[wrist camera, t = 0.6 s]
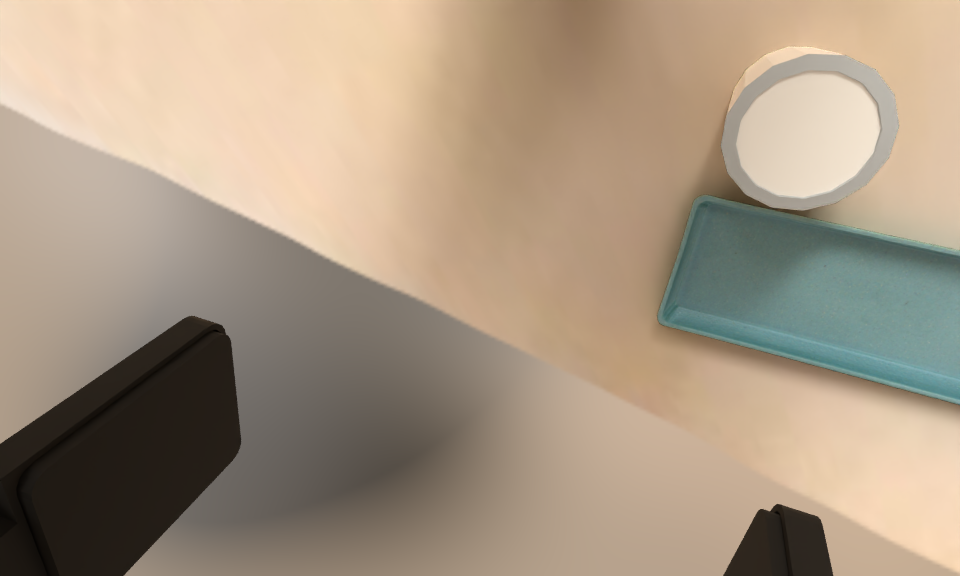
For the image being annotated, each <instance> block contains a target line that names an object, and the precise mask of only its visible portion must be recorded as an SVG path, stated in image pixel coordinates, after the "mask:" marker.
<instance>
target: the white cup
mask: <svg viewBox="0 0 960 576" xmlns="http://www.w3.org/2000/svg"><path fill="white" fill-rule="evenodd" d="M898 128H899V121H898V114H897V107H896V100H895V95H894V93H893V92H892V91H891V89H890V88H889V87H888V85H887V84H886V83H885V81H884V80H883V79H882V77H881V76H880V75H879V73H878V72H877V71H876V69H873V68H871V67H869V66H867V65H865V64H863V63H861V62H859V61H857V60H855V59H852V58H850V57H848V56H846V55H843V54H839V53H835V52H831V51H827V50H823V49H818V48H814V47H794V46H788V47H785V48H782V49H779V50H777V51H774V52H771V53H768V54H765V55H764V56H763V57H761V58H760V59H759V60H758V61H756V62H755V63H754V64H752V65H751V66H750V67H749V68H747V69H746V70H745V72H744V74H743V75H742V77H741V78H740V80H739V82H738V83H737V85H736V86H735V88H734V90H733V94H732V97H731V101H730V104H729V108H728V112H727V115H726V120H725V125H724V131H723V136H722V142H721V149H722V153H723V157H724V161H725V165H726V169H727V173H728V174H729V176H730V177H731V178H732V179H733V180H734V182H735V183H736V184H737V185H738V186H739V188H740V189H741V190H742V191H743V192H744V194H745V195H747V196H749V197H751V198H753V199H755V200H757V201H759V202H761V203H763V204H765V205H767V206H769V207H771V208H781V209H792V210H802V211H804V210H808V209H812V208H816V207H821V206H825V205H829V204H833V203H837V202H839V201H840V200H842V199H843V198H845V197H847V196H848V195H850V194H852V193H853V192H855V191H857V190H858V189H860V188H862V187H863V186H865V185H867V183H868V182H869V181H870V180H871V179H872V177H873V176H874V175H875V174H876V173H877V171H878V170H879V169H880V168H881V167H882V165H883V164H884V163H885V162H886V161H887V160H888V158H889V156H890V153H891V150H892V147H893V144H894V141H895V138H896V135H897V131H898Z"/></svg>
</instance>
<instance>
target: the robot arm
mask: <svg viewBox="0 0 960 576" xmlns="http://www.w3.org/2000/svg"><path fill="white" fill-rule="evenodd" d="M240 445H241V435H240V425H239V415H238V407H237V396H236V386H235V376H234V367H233V357H232V347H231V340H230V338H229V336H228V335H226V333H225V329H224V328H223V326H222V325H219V324H217V323H214V322H211V321H207V320H204V319H201V318H198V317H195V316H189V317H186V318H184V319H183V320H181V321H180V322H178V323H177V324H175V325H174V326H172V327H171V328H169V329H168V330H167V331H165V332H164V333H162V334H161V335H159V336H158V337H156V338H155V339H153V340H152V341H150V342H149V343H148V344H146V345H144V346H143V347H142V348H140V349H139V350H137V351H136V352H134V353H133V354H131V355H130V356H128V357H127V358H125V359H124V360H122V361H121V362H120V363H118V364H117V365H115V366H114V367H112V368H111V369H109V370H108V371H106V372H105V373H103V374H102V375H100V376H99V377H98V378H96V379H95V380H93V381H92V382H90V383H89V384H87V385H86V386H85V387H83V388H81V389H80V390H79V391H77V392H76V393H74V394H73V395H71V396H70V397H69V398H67V399H65V400H64V401H62V402H61V403H59V404H58V405H57V406H55V407H54V408H52V409H51V410H49V411H48V412H46V413H45V414H43V415H42V416H41V417H39V418H37V419H36V420H35V421H33V422H32V423H30V424H29V425H27V426H26V427H25V428H23V429H21V430H20V431H19V432H17V433H16V434H14V435H13V436H11V437H10V438H8V439H7V440H5V441H4V442H2V443H1V444H0V576H124V575H125V573H126V572H127V571H128V570H129V569H130V568H131V567H132V566H133V565H134V564H135V563H136V562H137V561H138V560H139V559H140V558H141V557H142V555H143V554H144V553H145V552H146V551H147V550H148V549H149V548H150V547H151V546H152V545H153V544H154V543H155V542H156V541H157V540H158V539H159V538H160V536H162V534H163V533H164V532H165V531H166V530H167V529H168V528H169V527H170V526H171V525H172V524H173V523H174V522H175V521H176V520H177V519H178V518H179V516H180V515H181V514H182V513H183V512H184V511H185V510H186V509H187V508H188V507H189V506H190V505H191V504H192V503H193V502H194V501H195V500H196V498H198V496H199V495H200V494H201V493H202V492H203V491H204V490H205V489H206V488H207V487H208V486H209V485H210V484H211V483H212V482H213V481H214V480H215V479H216V478H217V476H218V475H219V474H220V473H221V472H222V471H223V470H224V469H225V468H226V467H227V466H228V465H229V464H230V463H231V462H232V461H233V459H234V458H235V457H236V455H237V453H238V451H239V449H240ZM723 576H833V572H832V567H831V563H830V558H829V553H828V549H827V544H826V539H825V534H824V530H823V526H822V523H821V520H820V519H819V518H818V517H817V516H814V515H811V514H808V513H805V512H802V511H799V510H795V509H792V508H789V507H786V506H783V505H780V504H776V505H775V506H774V507H773V508H772V510H771V511H767V510H764V509H760V510H759V511H758V512H757V514H756V516H755V517H754V519H753V521H752V523H751V525H750V527H749V529H748V530H747V532H746V534H745V536H744V538H743V540H742V542H741V544H740V545H739V547H738V549H737V551H736V553H735V555H734V557H733V558H732V560H731V562H730V564H729V566H728V568H727V570H726V572H725V574H724V575H723Z"/></svg>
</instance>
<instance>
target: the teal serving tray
mask: <svg viewBox="0 0 960 576" xmlns="http://www.w3.org/2000/svg"><path fill="white" fill-rule="evenodd" d="M657 318H658V321H659V323H660V324H661V325H663V326H667V327H671V328H675V329H679V330H683V331H687V332H691V333H694V334H698V335H702V336H706V337H710V338H713V339H717V340H721V341H725V342H729V343H732V344H736V345H740V346H743V347H747V348H751V349H755V350H759V351H763V352H766V353H770V354H774V355H778V356H781V357H785V358H789V359H792V360H796V361H800V362H803V363H807V364H810V365H814V366H818V367H822V368H826V369H829V370H833V371H836V372H840V373H844V374H847V375H851V376H855V377H859V378H863V379H866V380H869V381H873V382H877V383H881V384H884V385H888V386H891V387H895V388H899V389H903V390H906V391H910V392H913V393H917V394H921V395H924V396H928V397H931V398H936V399H940V400H944V401H947V402H951V403H954V404H958V405H960V250H955V249H951V248H946V247H941V246H937V245H932V244H927V243H923V242H918V241H914V240H909V239H904V238H900V237H895V236H890V235H886V234H881V233H877V232H872V231H867V230H863V229H858V228H854V227H849V226H845V225H840V224H835V223H831V222H826V221H821V220H817V219H813V218H808V217H804V216H799V215H794V214H789V213H785V212H780V211H775V210H771V209H766V208H762V207H757V206H753V205H748V204H744V203H739V202H735V201H730V200H726V199H722V198H718V197H714V196H710V195H701V196H699V197H697V198H696V199H695V200H694V202H693V205H692V208H691V212H690V215H689V218H688V222H687V225H686V229H685V232H684V236H683V239H682V242H681V245H680V248H679V252H678V255H677V258H676V261H675V264H674V267H673V270H672V273H671V276H670V279H669V282H668V285H667V288H666V291H665V294H664V297H663V300H662V302H661V305H660V308H659V311H658V315H657Z"/></svg>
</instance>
